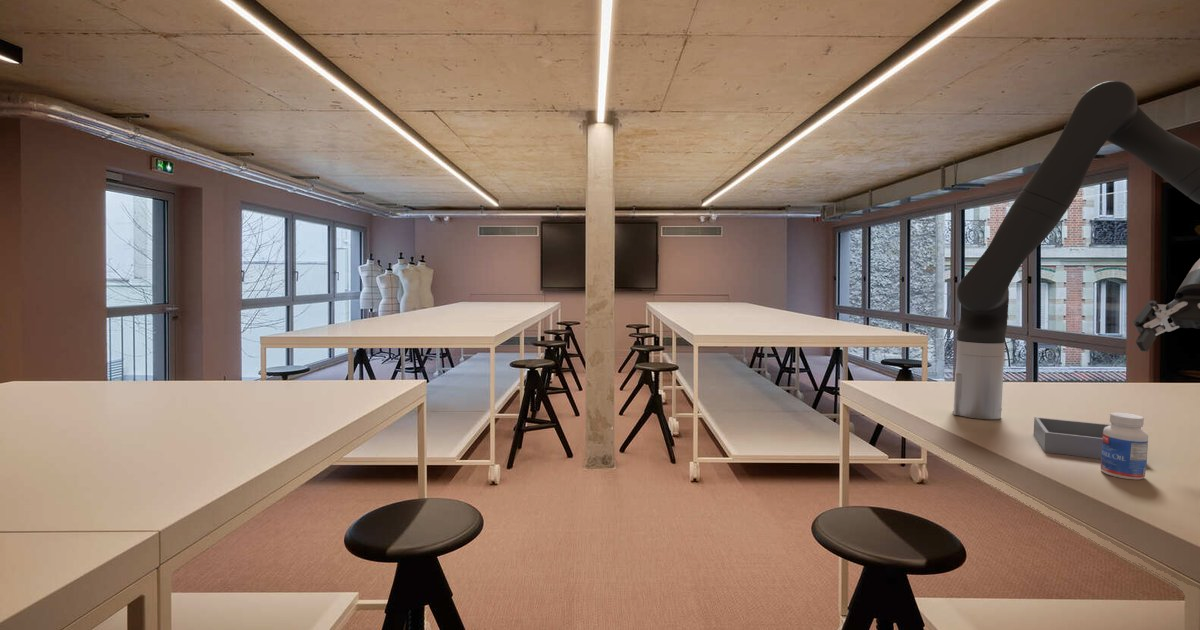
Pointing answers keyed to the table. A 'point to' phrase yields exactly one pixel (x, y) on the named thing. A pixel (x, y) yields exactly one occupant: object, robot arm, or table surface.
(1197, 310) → the robot arm
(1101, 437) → the tray
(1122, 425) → the pill bottle
